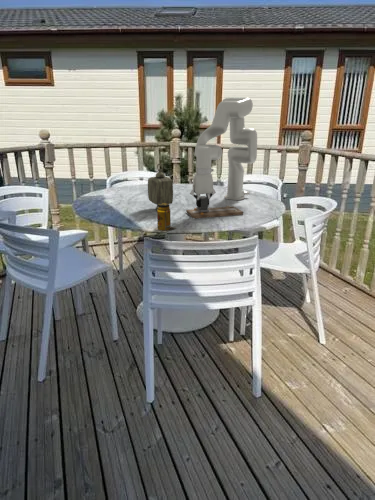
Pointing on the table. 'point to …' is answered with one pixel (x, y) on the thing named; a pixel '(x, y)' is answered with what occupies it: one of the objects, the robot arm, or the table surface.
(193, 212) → the fader board
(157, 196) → the tabletop clock
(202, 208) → the fader slider
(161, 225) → the condiment
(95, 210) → the table surface
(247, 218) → the table surface
